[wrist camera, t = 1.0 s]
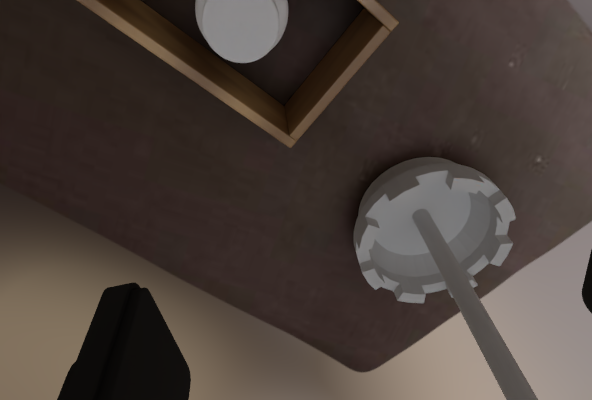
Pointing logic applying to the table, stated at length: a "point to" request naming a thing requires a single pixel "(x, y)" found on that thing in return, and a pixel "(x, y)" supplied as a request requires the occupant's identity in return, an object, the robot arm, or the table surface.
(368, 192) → the flag stand
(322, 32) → the table surface
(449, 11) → the table surface
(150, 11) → the wooden box
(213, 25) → the pill bottle
